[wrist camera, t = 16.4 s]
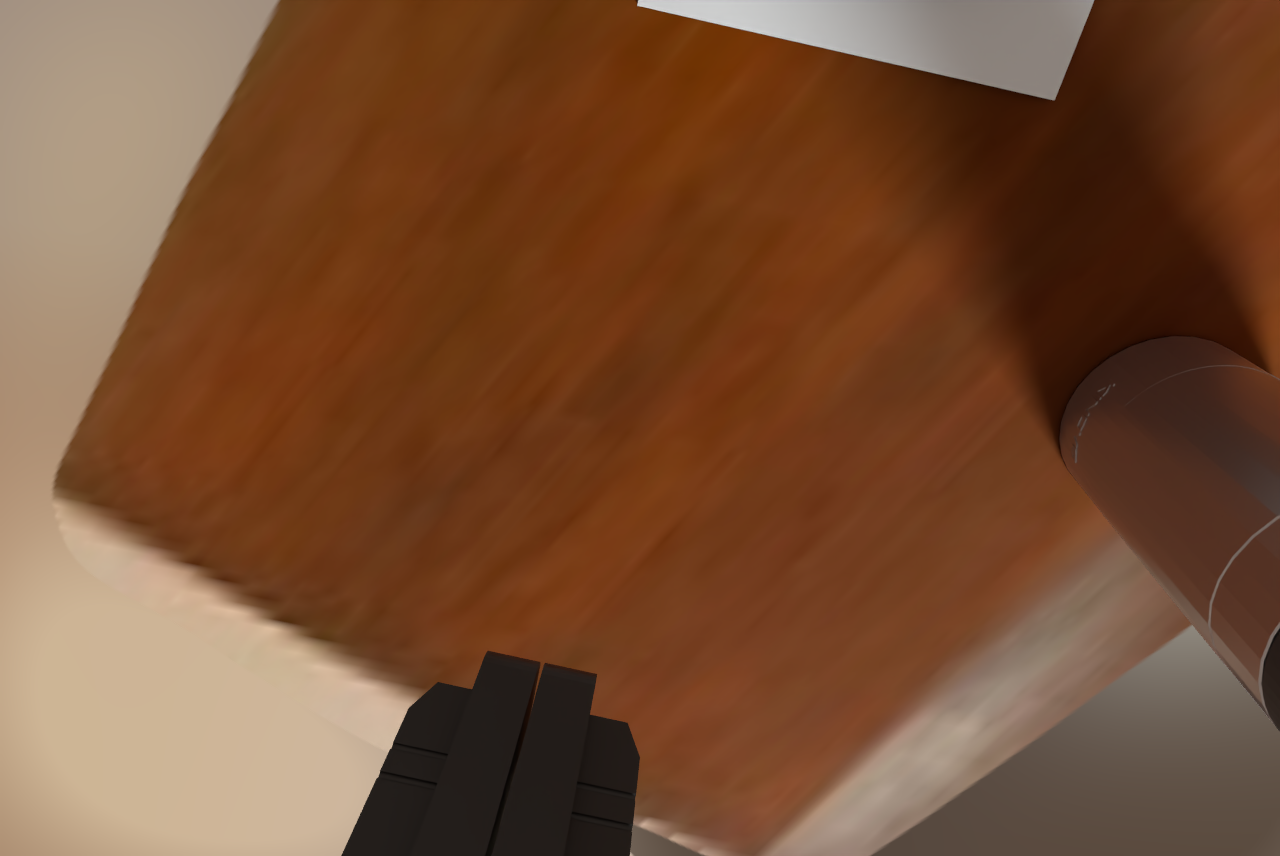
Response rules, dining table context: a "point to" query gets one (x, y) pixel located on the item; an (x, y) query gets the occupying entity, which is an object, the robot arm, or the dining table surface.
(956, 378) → the dining table surface
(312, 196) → the dining table surface
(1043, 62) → the square block holder
